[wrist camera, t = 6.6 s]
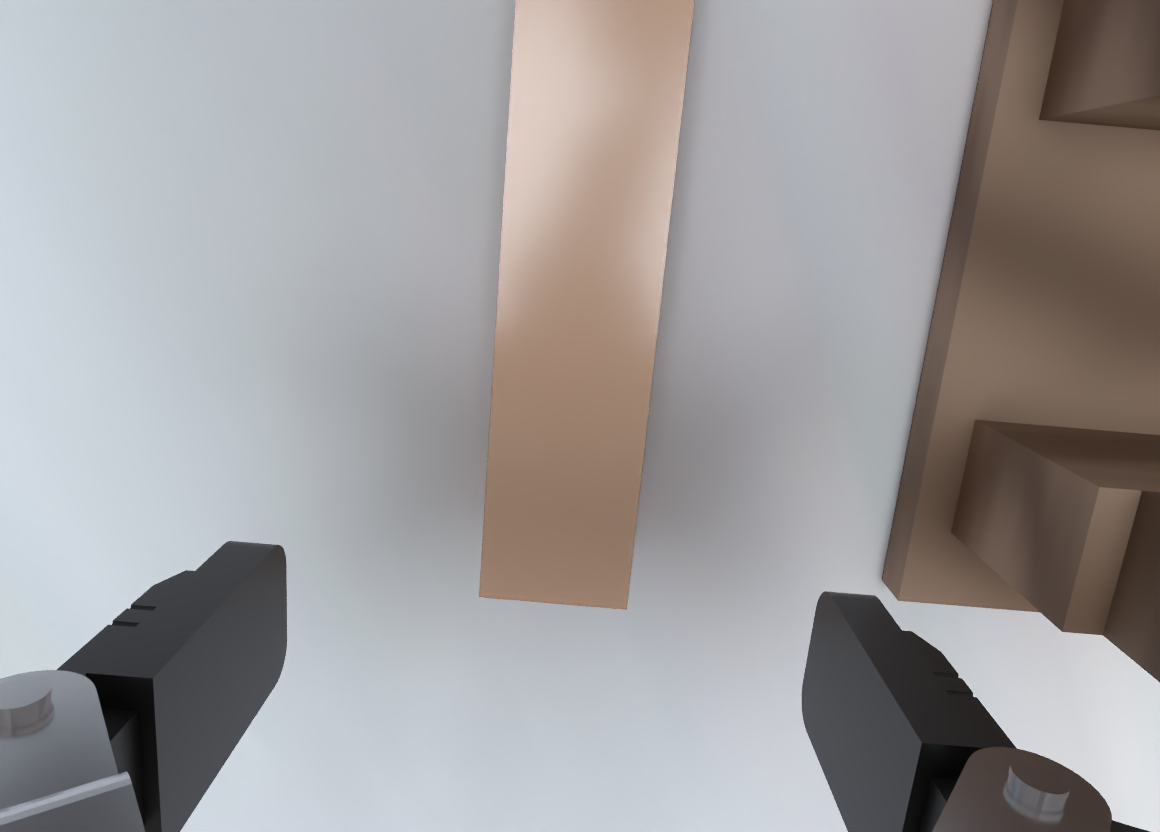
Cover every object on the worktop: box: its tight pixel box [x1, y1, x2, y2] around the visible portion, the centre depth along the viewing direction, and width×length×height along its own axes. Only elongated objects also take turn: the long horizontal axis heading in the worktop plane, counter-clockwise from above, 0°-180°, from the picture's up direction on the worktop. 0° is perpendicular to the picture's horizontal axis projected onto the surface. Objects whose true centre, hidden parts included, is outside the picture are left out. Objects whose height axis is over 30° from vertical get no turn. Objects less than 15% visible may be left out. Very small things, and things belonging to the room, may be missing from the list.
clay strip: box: [479, 0, 695, 610], centre depth 18 cm, size 16×3×4 cm, turn 175°
